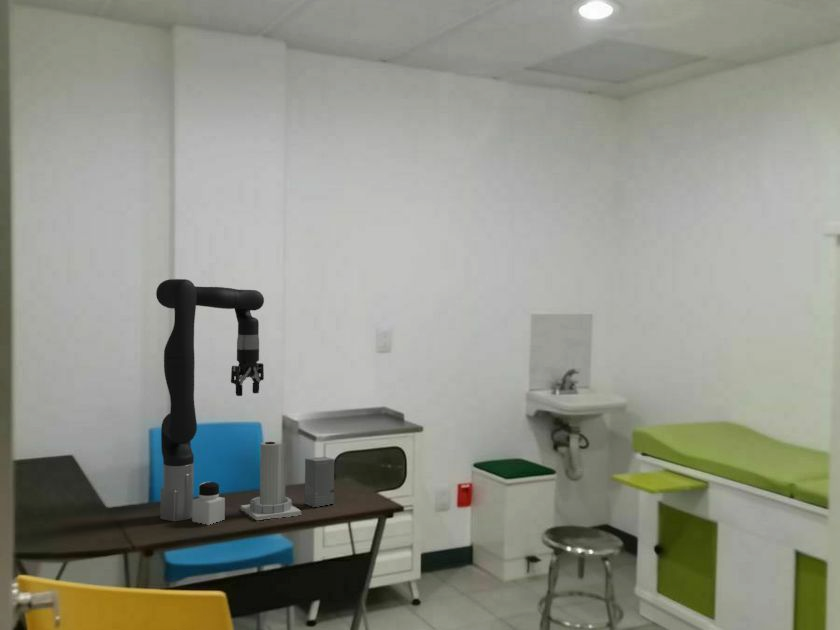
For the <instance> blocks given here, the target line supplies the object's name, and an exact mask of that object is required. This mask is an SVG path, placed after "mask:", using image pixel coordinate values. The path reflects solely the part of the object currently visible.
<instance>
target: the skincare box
mask: <svg viewBox="0 0 840 630" xmlns="http://www.w3.org/2000/svg"><path fill="white" fill-rule="evenodd" d="M304 466H305V467H304V505H306V504H307V505H306V506H309V507H311V506H312V507H311V508H314V507H317V508H320V507H319V506H323V507H326V506H325V505H328V506H331V505H330V504H333V505H334V504H335V503H334V502H335V459H334V458H331V457H327V456H320V457H318V456H317V457H307V458H305V459H304Z"/></svg>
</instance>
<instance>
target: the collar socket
mask: <svg viewBox="0 0 840 630" xmlns="http://www.w3.org/2000/svg"><path fill="white" fill-rule="evenodd" d="M292 503H293V502H292V498H290V497H288V496H285V503H283V504H277V505H261V504H260V496H256V497H253V498H251V499H250V500H249V504H243V505H242V504H241V505H240V510H241V509H242V510H243V511H245V512H246V513H247V514H249V515H250V516H252V517H253V518H254V519H255V520H263V519H271V518H279V519H283V518H282V517H286V518H292V517H291V516H294V517H299V516H298V515H301V516H302V510H300V509H299V508H297V506H295V505H293V504H292ZM242 510H241V511H242ZM243 511H242V512H243ZM246 513H245V514H246ZM247 514H246V515H247ZM250 516H249V517H250ZM253 518H252V519H253ZM254 519H253V520H254ZM255 520H254V521H255ZM271 520H272V519H271Z"/></svg>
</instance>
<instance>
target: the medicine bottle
mask: <svg viewBox="0 0 840 630" xmlns="http://www.w3.org/2000/svg"><path fill="white" fill-rule="evenodd" d="M225 502H226V498H225V497H221V496H220V485H219V483H218V482H215V481H205V482H201V483H199V485H198V497H197V498H193V515H192V518H191V520H192V523H196V522H197V524H200V523H202V524H201V525H205V524H206V525H205V526H211V525H213V523H214V524H217V523H216V522H218V523H220V521H221V522H223V521H222V520H224V521H225V518H226V517H225V516H226V503H225ZM210 524H211V525H210Z"/></svg>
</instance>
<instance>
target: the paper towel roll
mask: <svg viewBox="0 0 840 630" xmlns="http://www.w3.org/2000/svg"><path fill="white" fill-rule="evenodd" d="M259 455H260V457H259V458H260V460H259V461H260V465H259V466H260V467H259V471H260V473H259V497H260V504H261V505H277V504H283V503H285V497H286V478H287V477H286V472H287V471H286V470H287V467H286V466H287V465H286V464H287V463H286V462H287V460H286V459H287V443H286V442H284V443H280V442H278V441H264V442H260V454H259Z"/></svg>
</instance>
